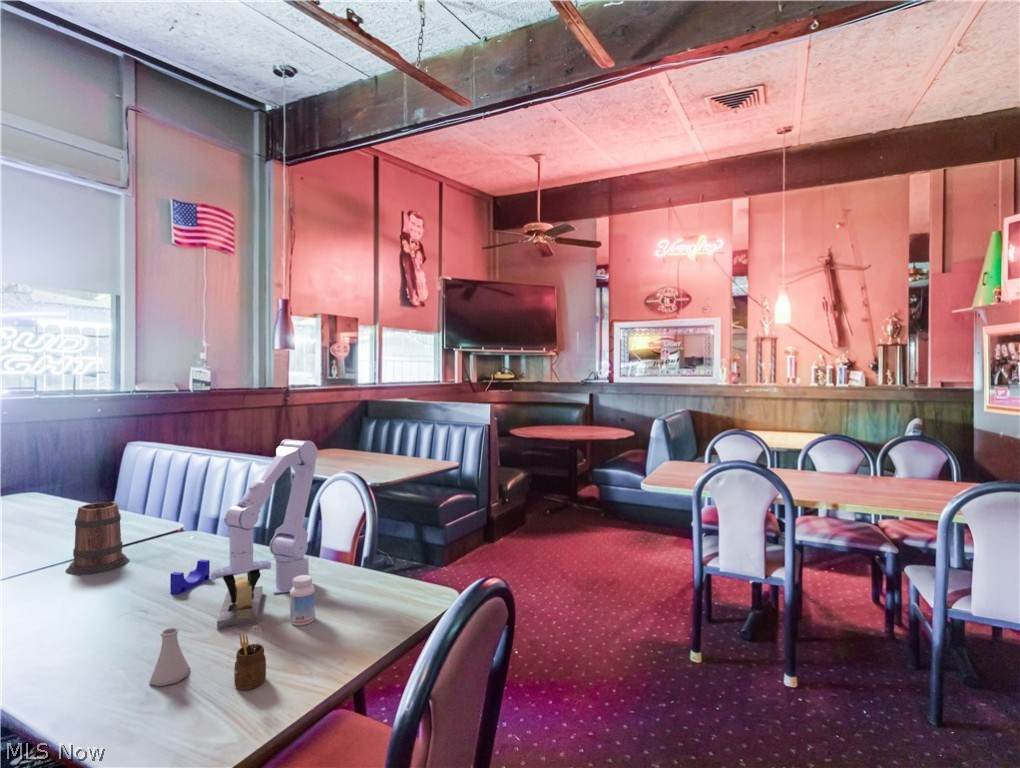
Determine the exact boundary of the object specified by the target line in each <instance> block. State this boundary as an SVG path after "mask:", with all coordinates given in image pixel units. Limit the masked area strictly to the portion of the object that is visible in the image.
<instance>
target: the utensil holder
mask: <svg viewBox="0 0 1020 768" xmlns="http://www.w3.org/2000/svg"><path fill="white" fill-rule="evenodd" d="M255 628H256V632H258V629H259V630H260V635H259V637H261V635H262V634H261V633H262V632H261V631H262V629H261V627H260V626H258V625H254V626H252V628H250V630H249V634H247V633H239V634H238V635H239V642H240V648H239V649H238V650H237V651H236V657H235V658H236V660H235V662H234V675H233V676H234V678H233V679H234V686H235V688H236V689H237V690H240V691H249V690H254V689H257V688H258V687H260V686H261V685H263V684H264V682H265V681H266V678H267V677H266V676H267V675H266V674H267V658H266V656H265V649H264V646H263V645H262V644H259V643H260V642H258V638H256V640H255V643H253V636H254V634H252V636H251V637H252V638H251V642H250V640H249V637H248V636H250V633H251V631H252V630H255Z"/></svg>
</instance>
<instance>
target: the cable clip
mask: <svg viewBox="0 0 1020 768" xmlns="http://www.w3.org/2000/svg"><path fill="white" fill-rule="evenodd" d="M210 566H211V565H210V559H202V558H201V559H199V560H197V563H196V567H195V569H193V570H191V571H189V574H187V576H186V577H185V574H184V573H185V572H181V571H172V572H171V573H170V579H169V580H170V583H169V584H170V585H169V586H170V594H171V595H181V594H183V593H186V592H187V591H189V590H191V589H193V588H194V587H195V588H196V587H197V586H199V585H200V584H202V583H204V582H205V581H209V580H211V571H210V570H211V569H210Z"/></svg>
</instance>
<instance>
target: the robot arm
mask: <svg viewBox="0 0 1020 768" xmlns="http://www.w3.org/2000/svg"><path fill="white" fill-rule="evenodd" d="M275 449H276V450H275V454H276V455H275V457H274V458H273V460H272V461H271V463H270V464H269V466H268V468H267V469H266V471H265V472H264V475H262V477H261V478H260V480H258V481H254V482H253V483H252V484H250V485H249V486H248V489H247V491H246V492H245V493H244V494H243V496H242V498H241V499H240V500H239V501H238V502H237V504H235V505H233V506H231V507H230V508H229V509H228V510H227V511H226V514H225V517H224V518H223V521H224V524H225V526H227V531H228V534H229V565H228V566H224V567H221V568H219V569H214V570H211V571H210V580H211V581H216V580H217V579H223V581H224V582H225V584H226V587H227V591H228V590H229V593H230V597H231V602H232V604H233V603H235V582H236V581H235V576H237V575H242V574H246V578H247V579H248V581H249V582H250V584H251V585H252V595H253V591H254V588H255V587H256V586H257V583H258V581H259V579H260V577H261V572H260V571H262V570H271V569H272V562H271V560H269V559H268V560H260V561H258V560H257V561H254V527H255V525H256V524H257V523H258V522H259V517H260V513H261V509H262V507H263V506H264V505H265V503H266V502H267V500H268V499H269V498H270V497H271V495H272V487H273V485H275V483H276V482H277V480H279V478H280V477H281V476H282V474H283V473H284V472H285V471H286V470H287V468H288V467H291V468H292V469H293V471H294V476H293V480H292V485H291V489H290V493H289V496H288V497H289V498H288V502H287V507H286V510H285V514H284V515H285V516H284V520H283V523H282V524H281V525H280V526H279V527H277V528H276V529H275V531H274V535H273V537H272V538H271V540H270V542H269V551H270V553H271V554H272V555H273V559H275V583H274V587H273V594H282V593H283V594H284V593H290V590H291V589H292V588H293V587H294V586H293V579H294V578H295V577H297V576H300V575H310V574H309V567H310V566H309V558H310V556H309V555H306V553H307V551H308V548H309V543H308V539H309V538H308V536H309V532H308V531H307V530H306V529H305V528H304V526H303V524H304V522H305V516H306V511H307V507H308V503H309V498H310V494H311V488H312V484H313V479H314V476H315V470H316V463H317V462H316V461H317V457H318V452H319V449H318V448H317V446H316V444H315V442H313V441H311V440H298V439H290V438H286V439H283V440H282V441H281V442H280V444H279V446H277V448H275ZM310 576H311V575H310Z"/></svg>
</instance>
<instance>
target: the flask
mask: <svg viewBox="0 0 1020 768" xmlns="http://www.w3.org/2000/svg"><path fill="white" fill-rule="evenodd" d="M179 630H180V629H179V627H174V626H173V627H167V628H165V629H163V630H161V632H160V637H161V638H162V640H161V641H162V642H161V649H160V653H159V656H158V659H157V662H156V665H155V667H154V670H153V673H152V675H151V678H150V680H149V683H148V685H152V686H156V687H163V686H164V687H165V686H170V685H173V684H178V683H179V682H181V681H182V680H184V679H185V678H186V677H188V676H189V674H190V670H191V667H190V665H189V664H188V661H187V660H186V658H185V656H184V654H183V651H182V649H181V647H180V644H179V640H178V639H179V638H178V633H179Z"/></svg>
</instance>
